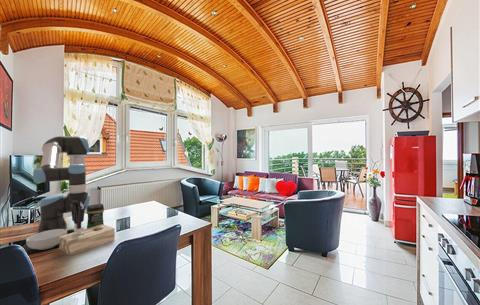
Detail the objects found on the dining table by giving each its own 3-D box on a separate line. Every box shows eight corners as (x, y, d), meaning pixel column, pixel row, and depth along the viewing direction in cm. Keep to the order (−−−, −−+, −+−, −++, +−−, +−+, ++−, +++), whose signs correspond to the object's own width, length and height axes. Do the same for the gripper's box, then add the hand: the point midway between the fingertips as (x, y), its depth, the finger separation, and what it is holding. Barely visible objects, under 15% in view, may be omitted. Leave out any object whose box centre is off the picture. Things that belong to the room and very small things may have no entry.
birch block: (59, 249, 113) (59, 236, 113) (102, 235, 132) (102, 224, 132) (70, 255, 106) (70, 242, 106) (114, 239, 125) (114, 228, 125)
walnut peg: (92, 240, 123) (92, 228, 123) (99, 238, 126) (99, 226, 126) (95, 242, 121) (95, 230, 121) (103, 239, 124) (103, 228, 124)
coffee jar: (86, 236, 130) (86, 207, 130) (86, 232, 137) (85, 204, 136) (105, 232, 137) (104, 204, 136) (103, 228, 143) (103, 202, 143)
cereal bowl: (63, 237, 128) (63, 226, 128) (70, 245, 118) (70, 233, 118) (24, 247, 115) (24, 235, 115) (28, 257, 105) (27, 243, 105)
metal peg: (72, 247, 114) (72, 234, 114) (80, 244, 117) (80, 232, 117) (75, 249, 112) (75, 236, 112) (84, 246, 115) (83, 233, 115)
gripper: (64, 192, 115) (64, 234, 115) (74, 194, 108) (75, 239, 108) (80, 189, 121) (80, 229, 121) (90, 191, 114) (91, 234, 115)
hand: (78, 233), depth 115 cm, fingers closed
